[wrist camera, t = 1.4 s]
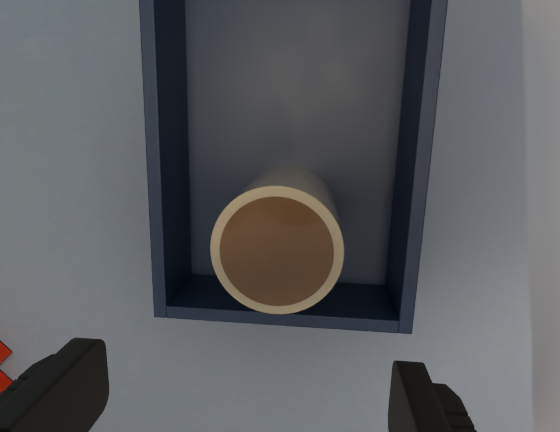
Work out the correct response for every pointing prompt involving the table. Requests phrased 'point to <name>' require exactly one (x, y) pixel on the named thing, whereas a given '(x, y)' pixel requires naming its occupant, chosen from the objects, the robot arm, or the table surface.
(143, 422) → the table surface
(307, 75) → the navy tray
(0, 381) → the building blocks
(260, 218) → the cup
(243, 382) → the table surface
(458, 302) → the table surface
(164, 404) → the table surface
